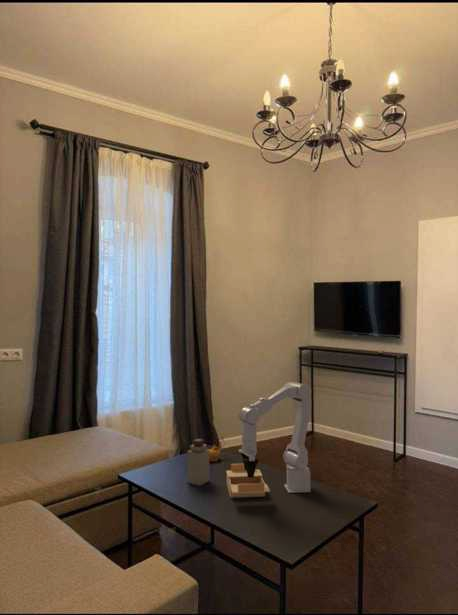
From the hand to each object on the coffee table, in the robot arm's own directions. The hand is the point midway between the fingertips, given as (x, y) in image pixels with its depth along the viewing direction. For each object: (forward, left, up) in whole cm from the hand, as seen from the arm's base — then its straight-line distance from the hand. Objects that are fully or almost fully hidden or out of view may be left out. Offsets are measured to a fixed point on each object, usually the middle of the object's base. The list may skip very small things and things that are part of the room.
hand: (249, 473), depth 171 cm
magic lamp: (+12, -49, -11) cm, 52 cm away
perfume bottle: (+19, -21, -11) cm, 30 cm away
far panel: (0, -14, -5) cm, 15 cm away
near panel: (0, +2, -5) cm, 6 cm away
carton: (0, -10, -10) cm, 14 cm away
